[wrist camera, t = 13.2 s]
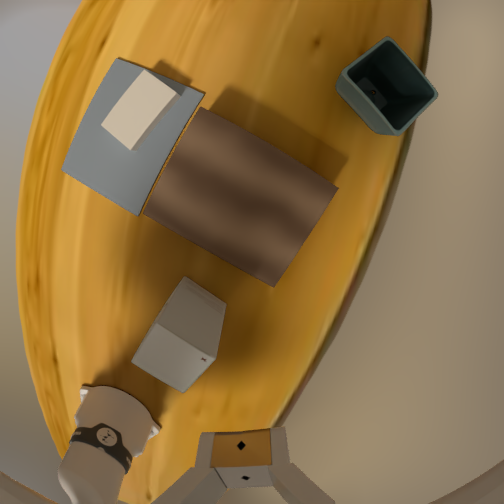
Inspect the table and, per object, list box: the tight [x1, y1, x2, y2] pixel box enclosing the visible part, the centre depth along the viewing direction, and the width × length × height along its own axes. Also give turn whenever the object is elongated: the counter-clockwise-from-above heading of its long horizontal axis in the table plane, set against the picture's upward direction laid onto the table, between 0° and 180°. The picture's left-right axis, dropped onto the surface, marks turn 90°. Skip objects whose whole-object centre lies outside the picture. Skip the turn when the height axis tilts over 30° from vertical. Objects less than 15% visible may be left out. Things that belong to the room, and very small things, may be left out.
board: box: [143, 107, 339, 287], centre depth 33 cm, size 14×18×4 cm
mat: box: [61, 58, 204, 216], centre depth 32 cm, size 18×15×1 cm
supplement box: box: [131, 276, 227, 393], centre depth 33 cm, size 7×7×13 cm
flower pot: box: [335, 36, 438, 136], centre depth 26 cm, size 9×9×9 cm
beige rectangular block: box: [101, 70, 181, 151], centre depth 30 cm, size 9×6×2 cm, turn 138°
